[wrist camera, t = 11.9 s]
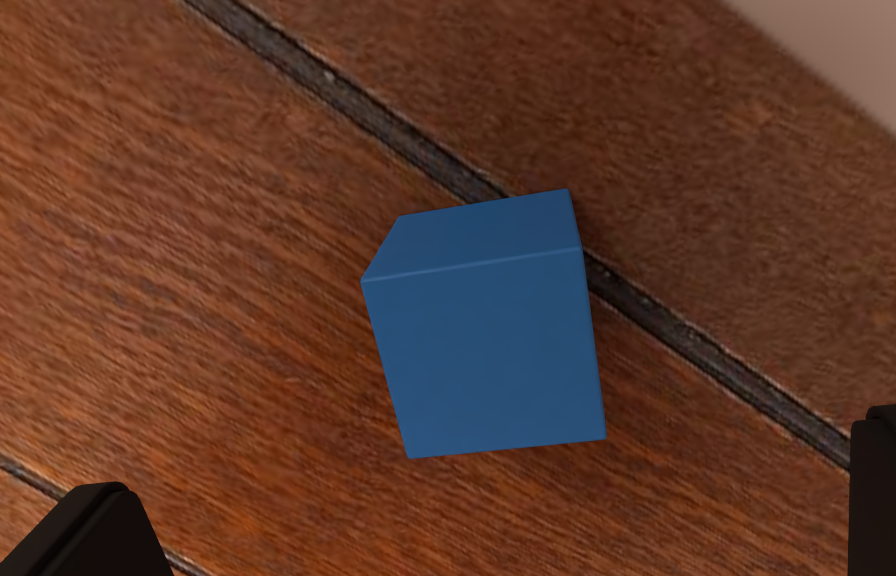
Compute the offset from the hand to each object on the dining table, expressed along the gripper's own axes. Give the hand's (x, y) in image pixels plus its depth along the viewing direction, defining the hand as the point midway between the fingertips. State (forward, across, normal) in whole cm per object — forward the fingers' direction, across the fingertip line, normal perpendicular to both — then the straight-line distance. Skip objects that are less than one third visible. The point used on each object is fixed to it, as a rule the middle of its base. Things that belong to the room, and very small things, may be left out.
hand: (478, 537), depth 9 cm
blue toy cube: (+8, 0, 0) cm, 8 cm away
